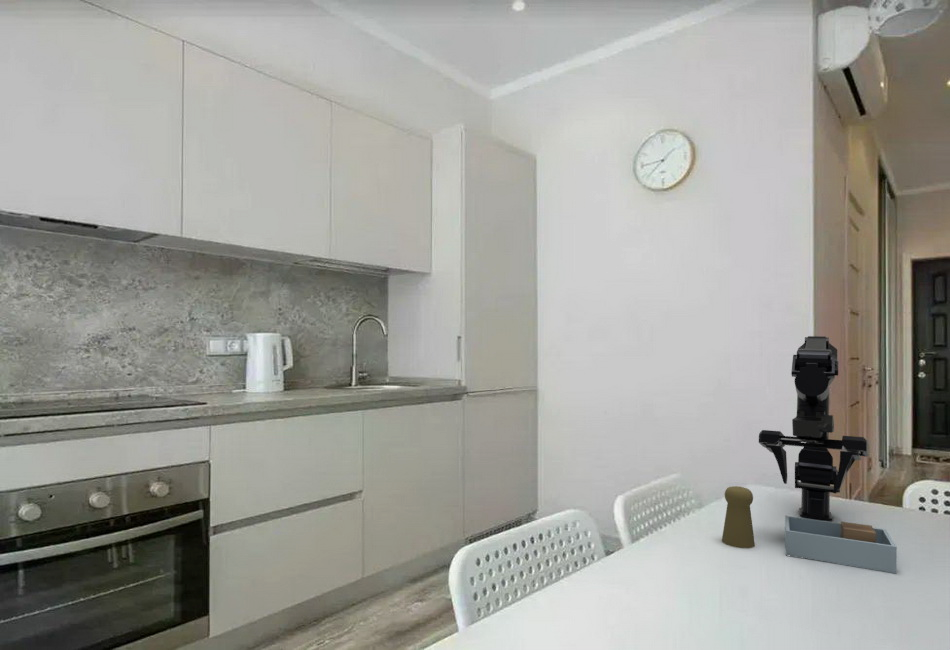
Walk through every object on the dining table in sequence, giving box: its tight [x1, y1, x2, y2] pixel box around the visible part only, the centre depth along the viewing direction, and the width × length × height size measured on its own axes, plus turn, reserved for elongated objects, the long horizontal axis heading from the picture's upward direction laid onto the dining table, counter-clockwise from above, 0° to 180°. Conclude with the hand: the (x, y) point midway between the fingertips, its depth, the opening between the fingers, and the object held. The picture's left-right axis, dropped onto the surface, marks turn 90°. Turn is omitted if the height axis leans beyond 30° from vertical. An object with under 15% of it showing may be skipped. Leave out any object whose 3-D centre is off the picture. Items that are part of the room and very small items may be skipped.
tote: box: [784, 515, 897, 574], centre depth 113 cm, size 11×17×5 cm, turn 63°
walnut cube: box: [840, 521, 876, 543], centre depth 112 cm, size 5×5×5 cm
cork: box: [721, 485, 756, 549], centre depth 119 cm, size 6×6×11 cm
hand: (811, 486), depth 116 cm, fingers open, 9 cm apart
